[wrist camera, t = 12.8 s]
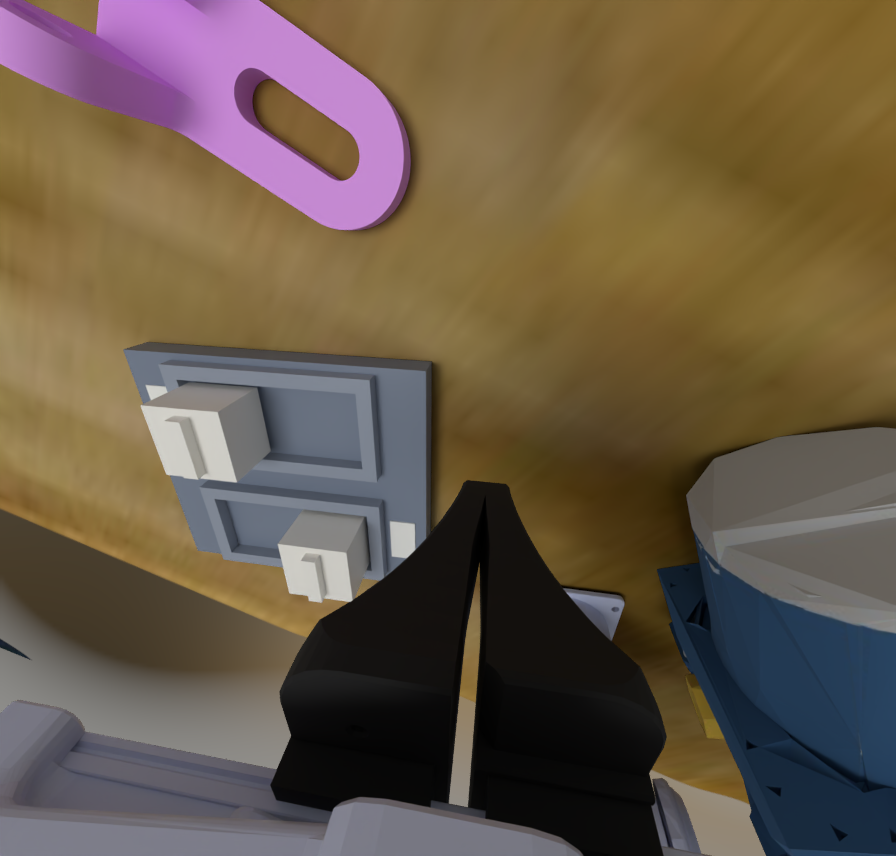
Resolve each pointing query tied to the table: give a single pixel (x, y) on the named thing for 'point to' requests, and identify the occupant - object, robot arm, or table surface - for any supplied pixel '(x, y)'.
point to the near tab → (208, 430)
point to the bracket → (221, 91)
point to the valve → (798, 634)
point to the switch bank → (309, 447)
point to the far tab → (325, 555)
